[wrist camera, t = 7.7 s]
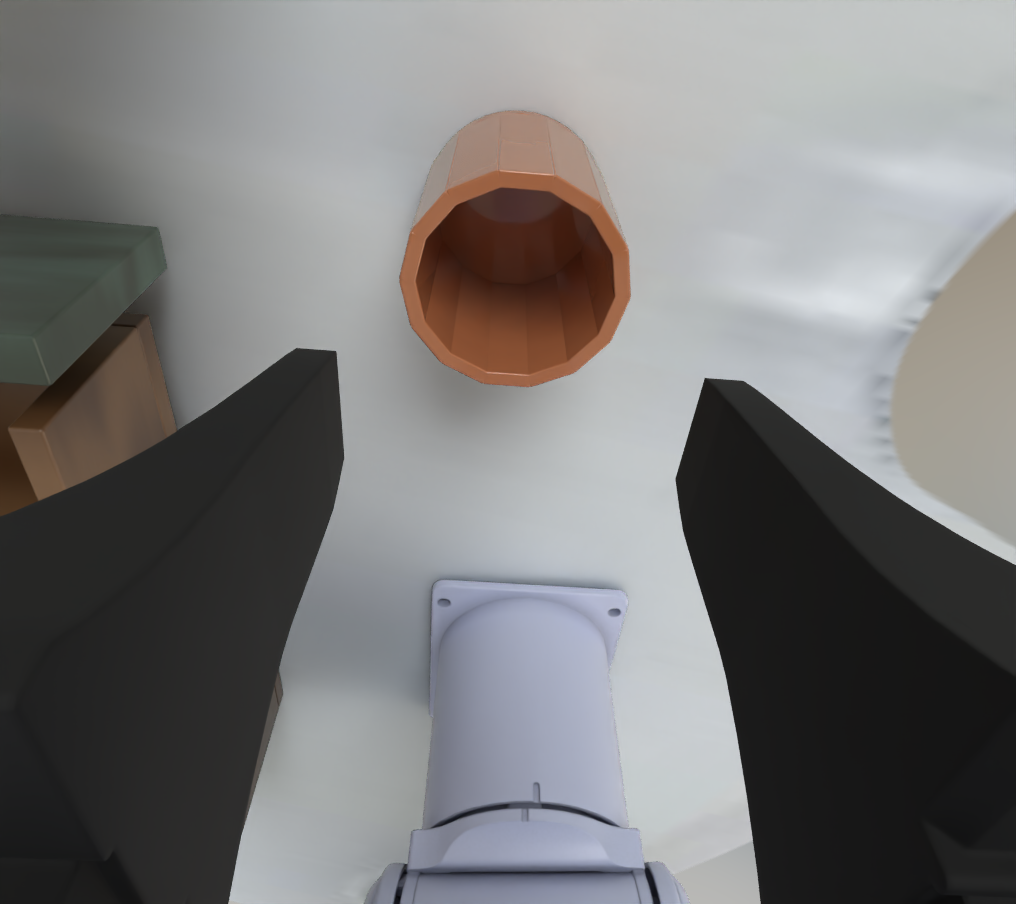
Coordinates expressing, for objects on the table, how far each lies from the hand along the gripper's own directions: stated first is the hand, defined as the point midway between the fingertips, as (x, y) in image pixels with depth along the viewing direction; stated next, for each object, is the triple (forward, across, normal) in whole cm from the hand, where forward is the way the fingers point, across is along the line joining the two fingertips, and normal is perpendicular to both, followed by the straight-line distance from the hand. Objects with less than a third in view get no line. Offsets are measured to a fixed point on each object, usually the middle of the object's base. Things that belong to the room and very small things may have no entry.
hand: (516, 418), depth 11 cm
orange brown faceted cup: (+10, 0, 0) cm, 10 cm away
